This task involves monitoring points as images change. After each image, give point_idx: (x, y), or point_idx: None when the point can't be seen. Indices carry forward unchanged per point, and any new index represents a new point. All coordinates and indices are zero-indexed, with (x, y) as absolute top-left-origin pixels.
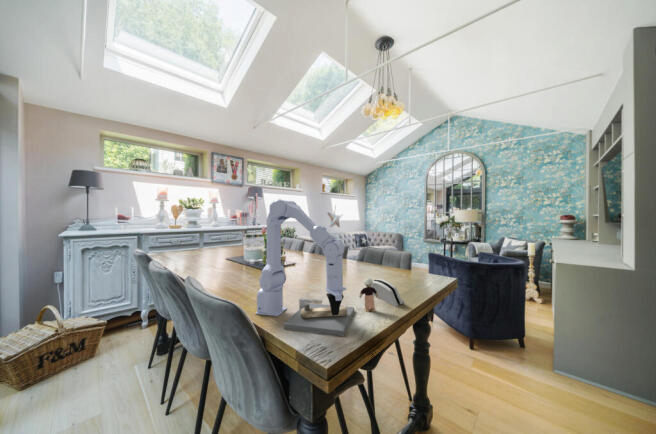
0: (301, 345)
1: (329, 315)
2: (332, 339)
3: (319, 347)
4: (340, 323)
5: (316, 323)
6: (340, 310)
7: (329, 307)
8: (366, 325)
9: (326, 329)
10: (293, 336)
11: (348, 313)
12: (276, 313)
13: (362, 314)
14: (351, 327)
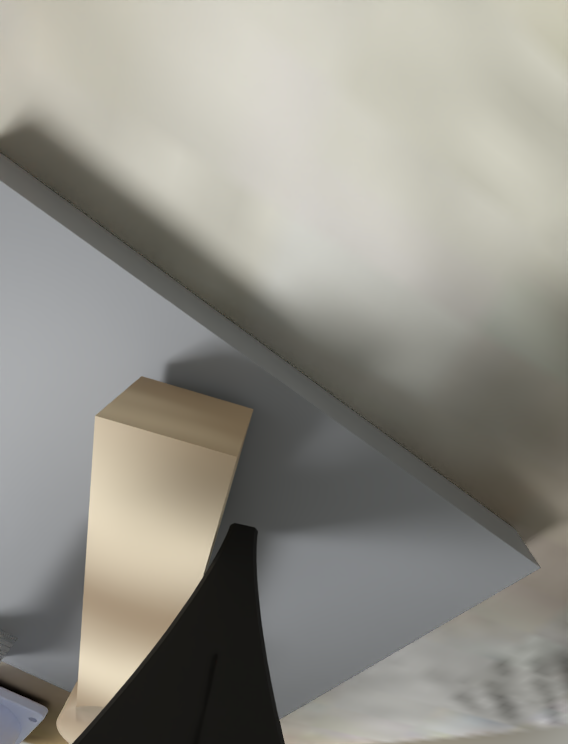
0: (449, 717)
1: (206, 570)
2: (503, 599)
3: (535, 675)
4: (384, 526)
5: (285, 652)
6: (216, 525)
7: (92, 596)
8: (477, 220)
9: (414, 635)
10: (332, 714)
11: (161, 336)
12: (18, 715)
13: (129, 64)
14: (417, 404)
